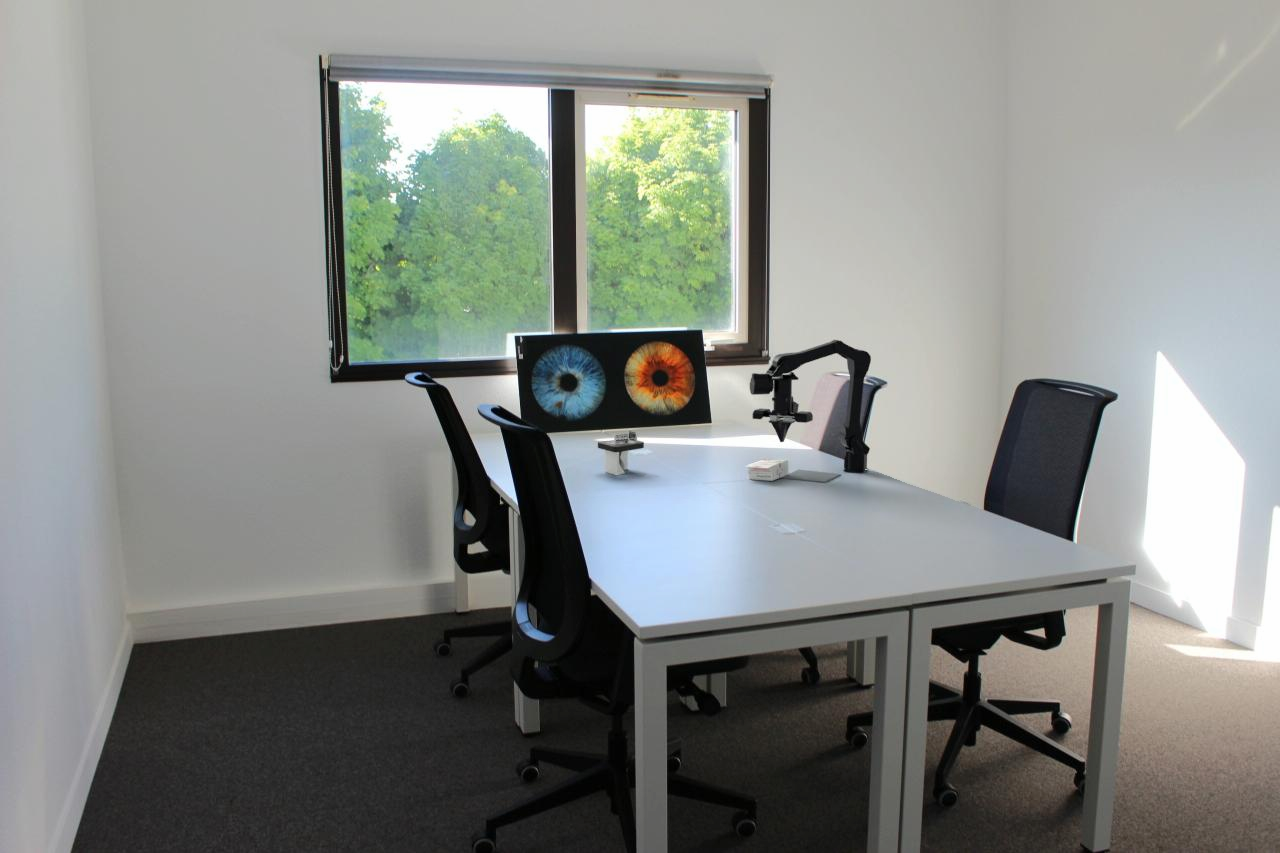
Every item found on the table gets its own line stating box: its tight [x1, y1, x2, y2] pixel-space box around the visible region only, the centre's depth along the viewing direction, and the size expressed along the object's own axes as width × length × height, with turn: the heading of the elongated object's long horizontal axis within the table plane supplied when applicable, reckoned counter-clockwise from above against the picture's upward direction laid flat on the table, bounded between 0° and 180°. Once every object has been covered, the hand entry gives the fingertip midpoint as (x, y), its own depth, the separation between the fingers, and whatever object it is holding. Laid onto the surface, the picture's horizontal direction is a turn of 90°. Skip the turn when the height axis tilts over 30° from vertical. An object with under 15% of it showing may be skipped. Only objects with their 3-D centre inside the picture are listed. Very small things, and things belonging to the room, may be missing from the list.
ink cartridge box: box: [745, 458, 790, 482], centre depth 344 cm, size 9×5×15 cm
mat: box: [781, 469, 841, 484], centre depth 347 cm, size 14×14×1 cm
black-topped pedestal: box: [597, 430, 645, 476], centre depth 353 cm, size 28×26×13 cm
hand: (782, 441), depth 350 cm, fingers closed
